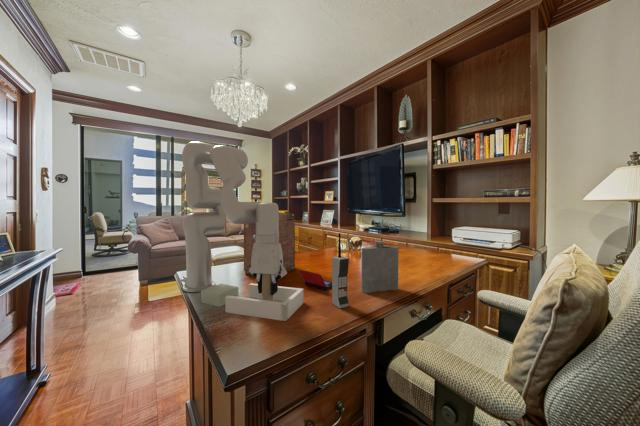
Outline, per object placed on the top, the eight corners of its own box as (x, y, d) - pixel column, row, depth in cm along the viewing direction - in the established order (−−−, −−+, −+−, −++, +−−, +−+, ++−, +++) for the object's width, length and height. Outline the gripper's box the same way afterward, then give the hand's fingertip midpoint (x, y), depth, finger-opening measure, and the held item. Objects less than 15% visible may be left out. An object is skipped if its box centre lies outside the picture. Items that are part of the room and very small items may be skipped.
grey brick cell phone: (339, 309, 86) (339, 234, 85) (332, 303, 90) (332, 233, 89) (349, 306, 87) (349, 233, 86) (341, 301, 92) (341, 232, 91)
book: (244, 275, 126) (244, 214, 125) (243, 270, 135) (243, 213, 134) (295, 270, 135) (294, 213, 134) (291, 266, 144) (290, 213, 142)
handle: (277, 305, 85) (276, 260, 85) (257, 306, 84) (257, 261, 84) (277, 300, 90) (277, 257, 89) (259, 301, 89) (258, 258, 89)
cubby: (225, 312, 83) (225, 297, 83) (251, 296, 98) (250, 283, 97) (285, 321, 77) (285, 304, 77) (303, 302, 91) (303, 288, 91)
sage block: (201, 303, 92) (201, 290, 92) (221, 294, 100) (220, 283, 100) (219, 307, 88) (219, 294, 88) (238, 298, 96) (238, 286, 96)
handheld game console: (337, 286, 109) (337, 269, 109) (320, 293, 102) (320, 274, 101) (316, 280, 118) (316, 264, 118) (298, 286, 110) (298, 269, 110)
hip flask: (363, 293, 100) (363, 242, 100) (359, 290, 104) (359, 241, 103) (399, 290, 104) (400, 241, 103) (394, 286, 108) (394, 239, 107)
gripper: (239, 239, 85) (240, 294, 86) (285, 242, 80) (285, 299, 81) (251, 236, 92) (252, 287, 93) (294, 238, 87) (294, 291, 88)
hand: (267, 292), depth 87 cm, fingers closed on handle, 4 cm apart
